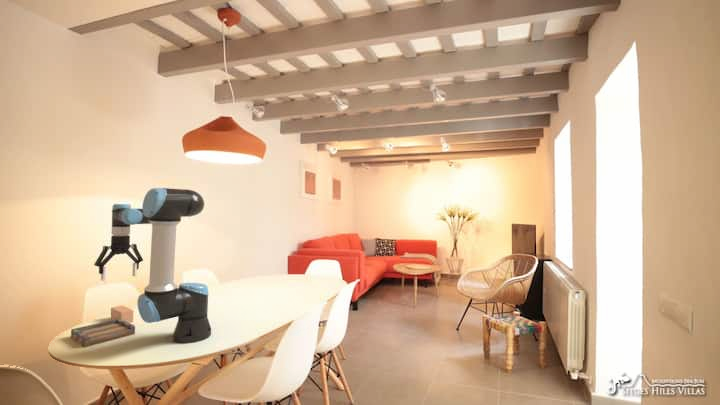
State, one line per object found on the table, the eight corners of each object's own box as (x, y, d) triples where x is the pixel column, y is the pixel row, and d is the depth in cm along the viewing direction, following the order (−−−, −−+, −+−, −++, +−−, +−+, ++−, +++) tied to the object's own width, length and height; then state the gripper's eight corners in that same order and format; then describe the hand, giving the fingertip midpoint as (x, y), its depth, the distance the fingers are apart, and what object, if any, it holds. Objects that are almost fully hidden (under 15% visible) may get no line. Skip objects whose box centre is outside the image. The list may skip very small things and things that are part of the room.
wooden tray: (134, 334, 151) (135, 325, 151) (84, 347, 136) (85, 338, 136) (119, 326, 160) (119, 318, 160) (70, 338, 145) (71, 329, 145)
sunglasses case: (132, 322, 166) (133, 310, 166) (121, 325, 162) (121, 312, 162) (122, 317, 173) (122, 305, 173) (110, 319, 169) (111, 307, 169)
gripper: (144, 233, 180) (142, 273, 180) (87, 236, 160) (85, 281, 159) (151, 234, 176) (149, 275, 176) (93, 237, 155) (91, 283, 155)
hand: (119, 278), depth 168 cm, fingers open, 13 cm apart
